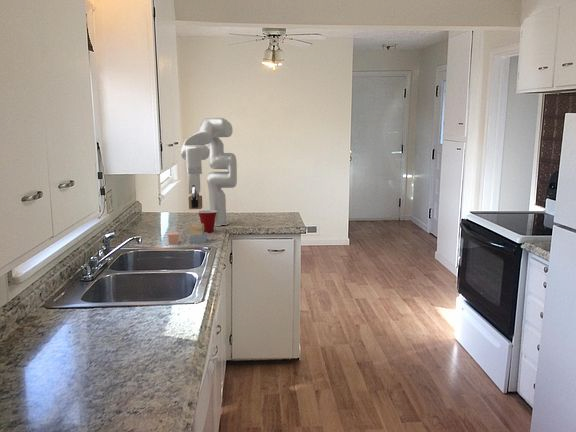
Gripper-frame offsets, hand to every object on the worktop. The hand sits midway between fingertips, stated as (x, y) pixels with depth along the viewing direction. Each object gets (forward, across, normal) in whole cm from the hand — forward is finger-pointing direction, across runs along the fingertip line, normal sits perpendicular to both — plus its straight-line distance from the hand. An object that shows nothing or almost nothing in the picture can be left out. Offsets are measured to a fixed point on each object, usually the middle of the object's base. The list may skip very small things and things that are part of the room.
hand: (195, 206), depth 253 cm
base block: (+19, -1, 0) cm, 19 cm away
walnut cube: (+1, 0, 0) cm, 1 cm away
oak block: (+15, 0, 0) cm, 15 cm away
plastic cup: (+18, -23, +3) cm, 30 cm away
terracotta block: (+18, +2, -12) cm, 22 cm away
